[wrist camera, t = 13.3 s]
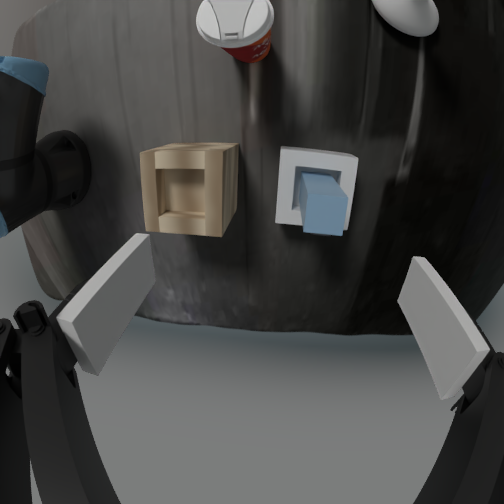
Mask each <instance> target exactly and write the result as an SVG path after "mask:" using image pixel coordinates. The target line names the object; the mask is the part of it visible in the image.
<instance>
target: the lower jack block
mask: <svg viewBox="0 0 504 504" xmlns="http://www.w3.org/2000/svg"><path fill="white" fill-rule="evenodd" d="M357 165H358V158H357V157H355V156H353V155H351V154H347V153H340V152H333V151H325V150H317V149H308V148H299V147H288V146H281V152H280V167H279V181H278V195H277V208H276V221H275V223H282V224H293V225H302V218H301V211H300V204H299V191H300V181H301V171H307V172H316V173H324V174H330V175H331V176H332V177H333V178H334V180H335V181H336V182H337V184H338V185H339V186H340V187H341V189H342V190H343V191H344V193H345V194H346V195H347V197H348V205H347V211H346V217H345V223H344V228H343V230H347V229H348V224H349V218H350V212H351V206H352V200H353V194H354V187H355V180H356V173H357Z"/></svg>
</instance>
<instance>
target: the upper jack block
mask: <svg viewBox="0 0 504 504" xmlns="http://www.w3.org/2000/svg"><path fill="white" fill-rule="evenodd" d="M238 153H239V143H172V144H168V145H165V146H161V147H157V148H154V149H150V150H147V151H143V152H140V167H141V183H142V196H143V207H144V217H145V227H146V231H153V232H166V233H178V234H191V235H203V236H215V237H222V236H223V234H224V232H225V230H226V229H227V227H228V225H229V223H230V221H231V219H232V217H233V215H234V213H235V212H236V210H237V186H238Z"/></svg>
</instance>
